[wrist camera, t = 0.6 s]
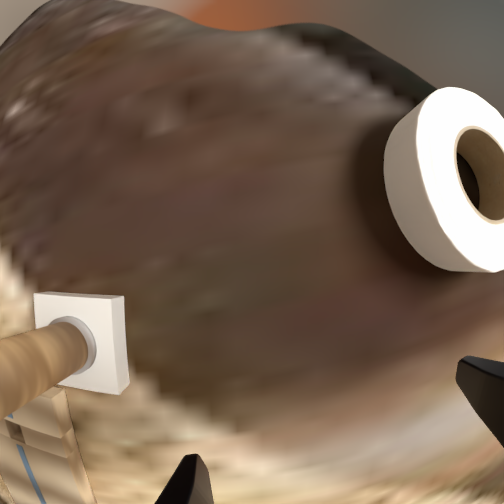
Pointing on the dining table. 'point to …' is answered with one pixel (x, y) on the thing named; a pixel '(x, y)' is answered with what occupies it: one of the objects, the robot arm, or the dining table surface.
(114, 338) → the awl holder
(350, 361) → the dining table surface
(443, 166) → the roll of tape
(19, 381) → the awl
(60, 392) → the beige flat rectangular piece
